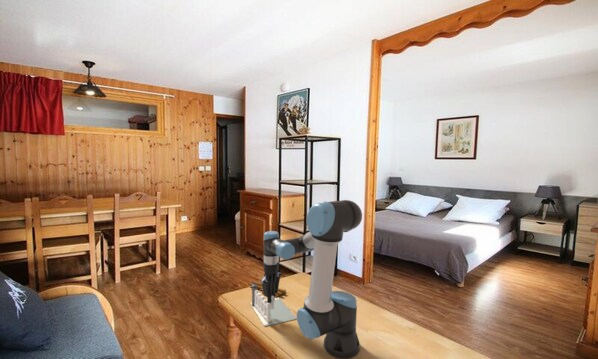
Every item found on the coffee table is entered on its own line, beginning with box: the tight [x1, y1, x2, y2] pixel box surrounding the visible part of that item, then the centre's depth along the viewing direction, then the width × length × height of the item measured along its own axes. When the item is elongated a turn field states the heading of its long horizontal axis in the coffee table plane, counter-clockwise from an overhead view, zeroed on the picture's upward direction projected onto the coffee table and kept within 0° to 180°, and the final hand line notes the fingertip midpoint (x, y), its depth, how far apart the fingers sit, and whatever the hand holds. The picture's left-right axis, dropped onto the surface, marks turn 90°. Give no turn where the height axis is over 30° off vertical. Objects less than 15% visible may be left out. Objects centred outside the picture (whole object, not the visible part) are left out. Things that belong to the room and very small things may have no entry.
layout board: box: [249, 296, 297, 327], centre depth 157 cm, size 25×17×1 cm
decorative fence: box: [247, 280, 287, 298], centre depth 180 cm, size 25×2×10 cm
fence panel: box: [254, 289, 271, 322], centre depth 152 cm, size 18×2×9 cm, turn 29°
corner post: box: [250, 284, 258, 307], centre depth 161 cm, size 3×3×12 cm
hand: (271, 308), depth 150 cm, fingers closed
